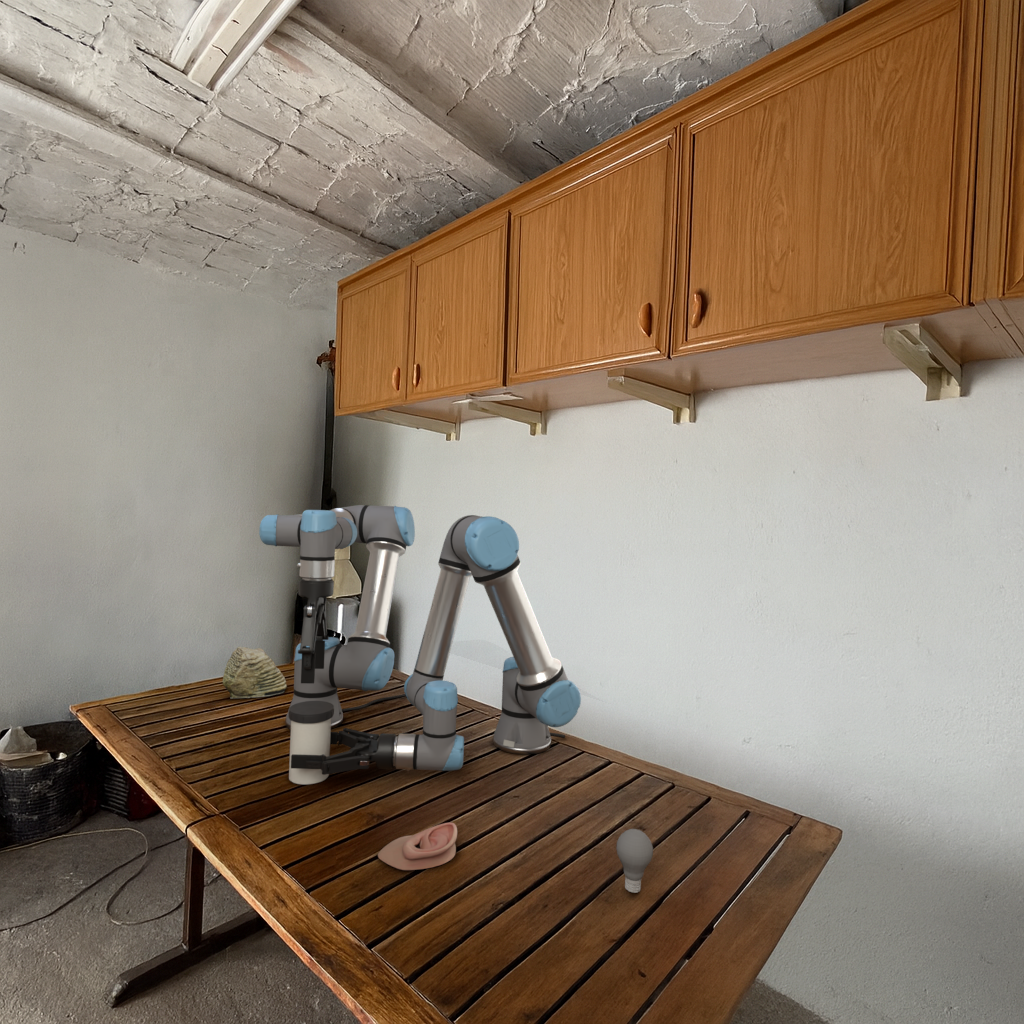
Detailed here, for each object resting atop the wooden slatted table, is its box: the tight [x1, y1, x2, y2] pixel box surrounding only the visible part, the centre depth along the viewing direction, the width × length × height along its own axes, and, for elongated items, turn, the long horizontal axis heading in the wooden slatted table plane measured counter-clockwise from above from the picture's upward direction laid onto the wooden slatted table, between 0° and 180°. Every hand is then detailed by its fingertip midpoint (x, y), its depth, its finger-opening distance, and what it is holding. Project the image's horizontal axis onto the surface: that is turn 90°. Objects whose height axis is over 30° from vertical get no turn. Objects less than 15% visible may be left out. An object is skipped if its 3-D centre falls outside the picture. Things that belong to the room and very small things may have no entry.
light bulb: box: [615, 828, 654, 894], centre depth 106 cm, size 6×6×10 cm
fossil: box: [222, 646, 288, 699], centre depth 198 cm, size 9×18×15 cm, turn 132°
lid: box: [288, 701, 334, 723], centre depth 143 cm, size 10×10×2 cm
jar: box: [288, 718, 332, 785], centre depth 143 cm, size 9×9×15 cm
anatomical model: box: [377, 822, 458, 871], centre depth 114 cm, size 13×4×12 cm
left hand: (312, 675), depth 143 cm, fingers open, 11 cm apart
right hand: (300, 748), depth 143 cm, fingers open, 13 cm apart
